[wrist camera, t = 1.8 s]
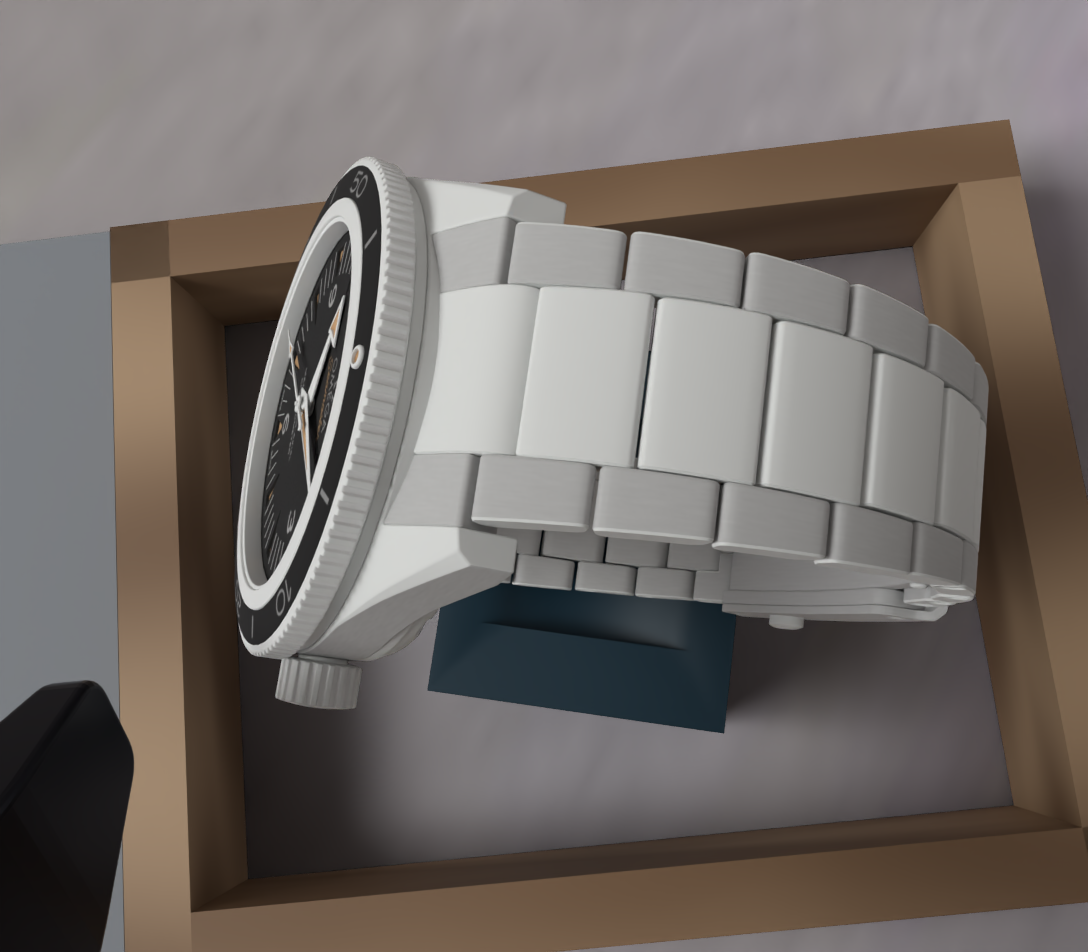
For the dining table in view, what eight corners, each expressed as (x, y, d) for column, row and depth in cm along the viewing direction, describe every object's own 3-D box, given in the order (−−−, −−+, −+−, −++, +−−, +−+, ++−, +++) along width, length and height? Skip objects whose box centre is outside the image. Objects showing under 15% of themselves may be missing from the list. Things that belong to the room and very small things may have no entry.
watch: (398, 373, 19) (137, -8, 8) (835, 426, 19) (1156, 84, 8) (347, 677, 18) (-25, 683, 7) (806, 743, 18) (1130, 857, 7)
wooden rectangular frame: (1086, 862, 17) (1169, 895, 14) (192, 946, 17) (125, 991, 15) (957, 190, 19) (1009, 119, 17) (170, 282, 20) (109, 227, 17)
